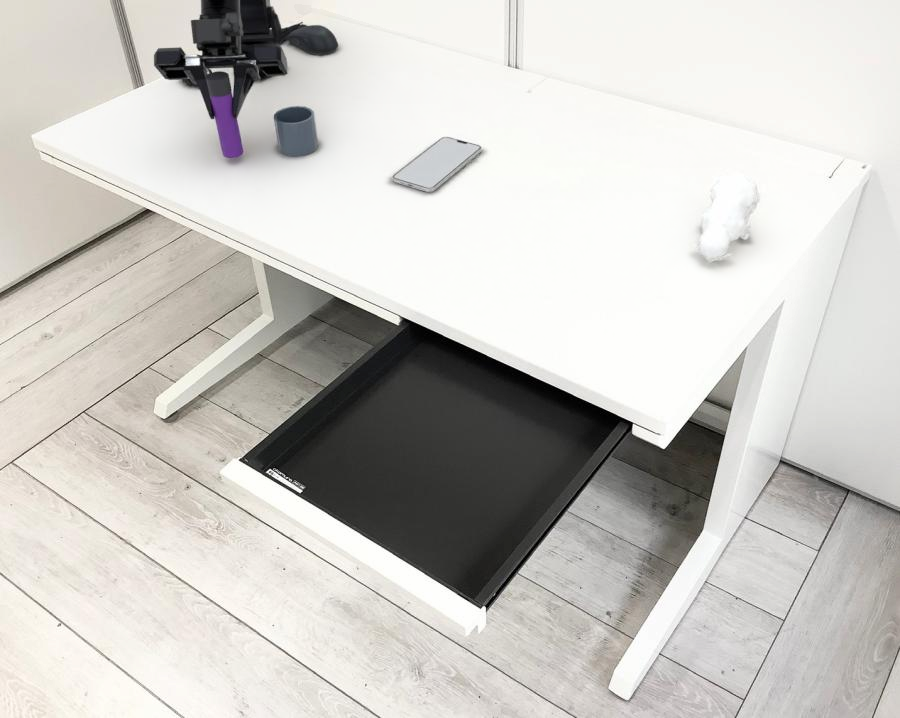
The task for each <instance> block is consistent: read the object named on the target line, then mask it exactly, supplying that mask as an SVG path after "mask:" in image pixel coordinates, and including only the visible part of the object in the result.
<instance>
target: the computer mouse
mask: <svg viewBox="0 0 900 718" xmlns="http://www.w3.org/2000/svg"><path fill="white" fill-rule="evenodd" d="M281 28H282V35H283V37H282V38H280V39H278V41H277V42H275V43H276V44H279V45H280V44H281V43H283V42H284V41H285V40H287V41H288V43H289V44H290V45H293V46H295V47H297V48H300V49H301V50H303V51H305V52H306V53H308V54H312V55H319V56H322V55H329V54H332V53H334V52H335V51H337V49H338V47H339V42H338V40H337V37H336V36H335V34H334V33H333V32H332V31H331V30H330V29H329V28H327V27H326V26H324V25H322V24H321V25H320V24H312V25H307V24H304V22H303V21H301V22H299V23H296V24H292V25H290V26H286V27H281Z"/></svg>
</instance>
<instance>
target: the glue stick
mask: <svg viewBox="0 0 900 718" xmlns="http://www.w3.org/2000/svg"><path fill="white" fill-rule="evenodd" d="M206 81H207V86H208V91H209V94H210V98H211V103H212V107H213V112H214V121H215V125H216V130H217V134H218V140H219V144H220V149H221V153H222V156H223V158H226V159H236V158H239V157H242V156H243V154H244V147H243V141H242V137H241V131H240V127H239V126H240V125H239V121H238V117H237V118H234V117H233V108H232V104H233V91H232V90H233V89H232V85H231V80H230V75H229V73H228V72H226V71H212V73H210V74H208V75H207V76H206Z"/></svg>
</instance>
